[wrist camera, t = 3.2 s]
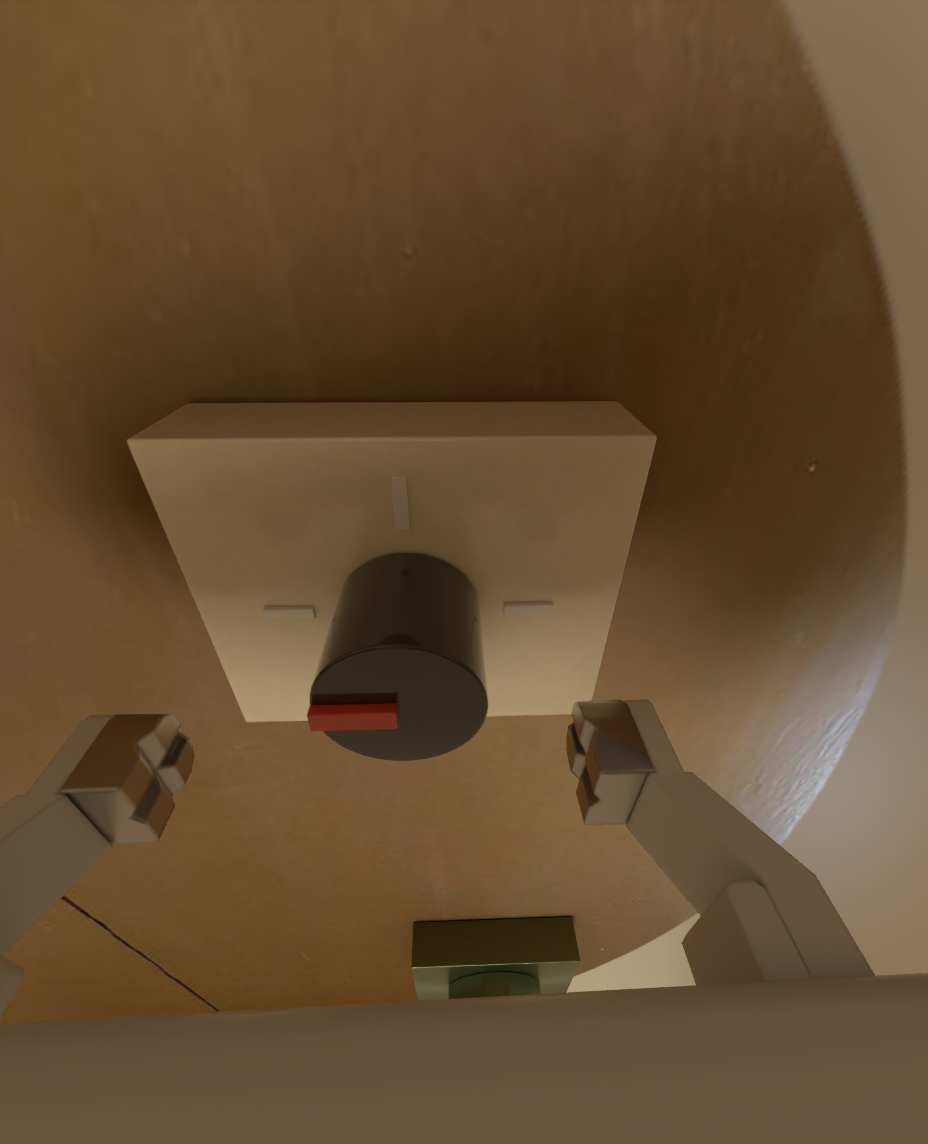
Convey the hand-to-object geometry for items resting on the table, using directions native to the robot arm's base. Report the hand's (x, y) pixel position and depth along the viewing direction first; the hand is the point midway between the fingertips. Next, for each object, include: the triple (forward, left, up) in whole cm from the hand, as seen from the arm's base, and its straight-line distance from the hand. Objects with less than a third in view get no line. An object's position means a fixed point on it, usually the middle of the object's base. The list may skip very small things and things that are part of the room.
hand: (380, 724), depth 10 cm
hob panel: (0, 0, -7) cm, 7 cm away
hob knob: (0, 0, -4) cm, 4 cm away
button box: (-4, +38, -7) cm, 39 cm away
